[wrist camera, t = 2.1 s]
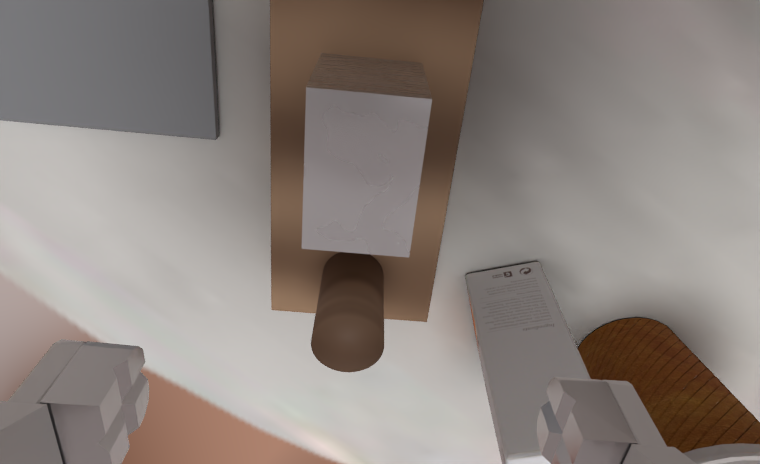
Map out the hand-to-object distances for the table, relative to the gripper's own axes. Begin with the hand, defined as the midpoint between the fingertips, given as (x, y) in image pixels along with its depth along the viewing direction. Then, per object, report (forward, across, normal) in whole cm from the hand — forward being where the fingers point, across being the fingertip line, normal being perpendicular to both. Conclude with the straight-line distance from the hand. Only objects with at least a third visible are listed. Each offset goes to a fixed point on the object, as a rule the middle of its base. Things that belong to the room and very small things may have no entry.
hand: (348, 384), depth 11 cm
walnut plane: (+17, 0, -1) cm, 17 cm away
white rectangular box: (+14, 0, -1) cm, 14 cm away
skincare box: (+18, -9, +10) cm, 22 cm away
